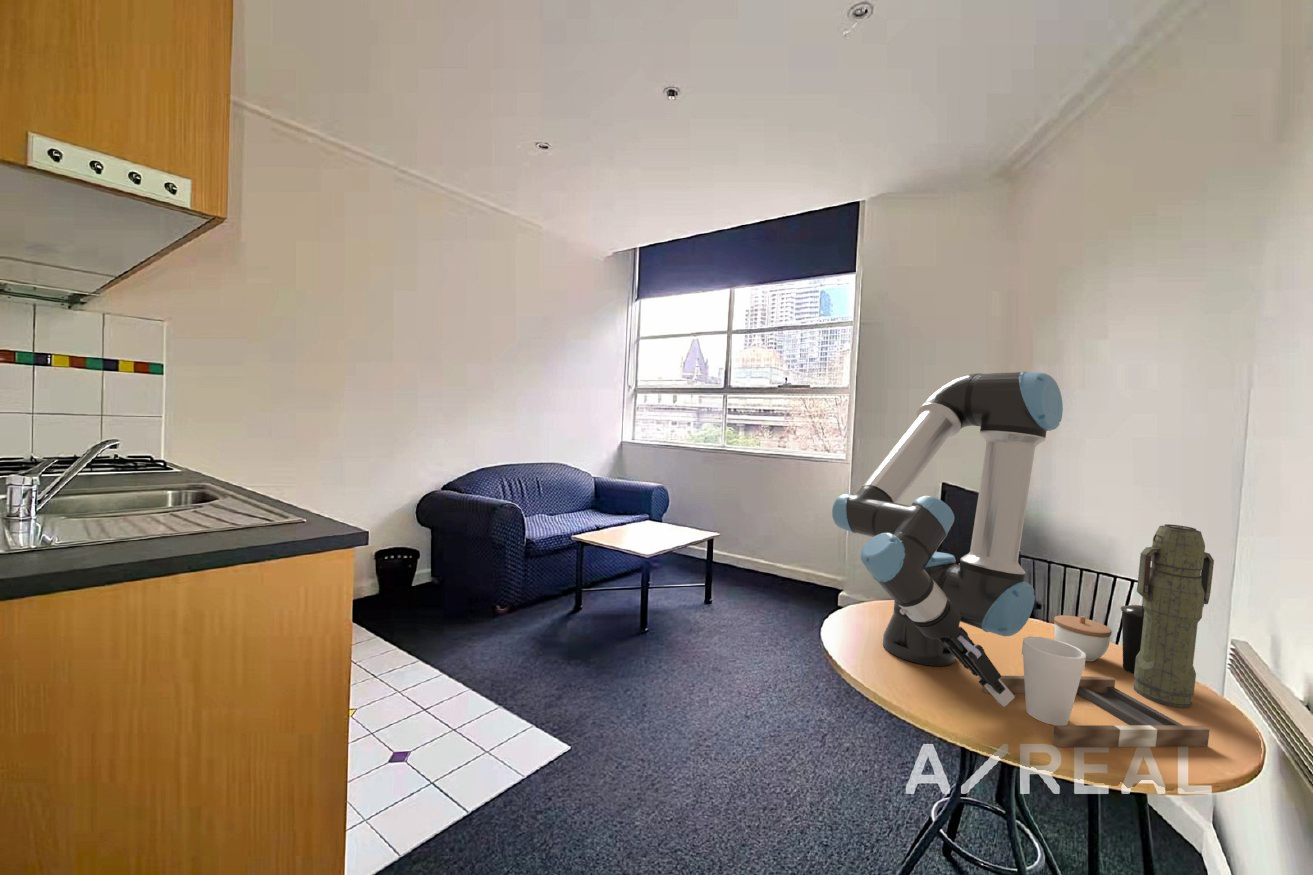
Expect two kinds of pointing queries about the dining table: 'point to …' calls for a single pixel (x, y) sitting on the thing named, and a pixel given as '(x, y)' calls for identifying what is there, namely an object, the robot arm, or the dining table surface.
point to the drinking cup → (1131, 634)
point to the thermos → (1171, 613)
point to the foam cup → (1051, 678)
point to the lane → (1142, 719)
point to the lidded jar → (1083, 635)
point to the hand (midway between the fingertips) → (1006, 699)
